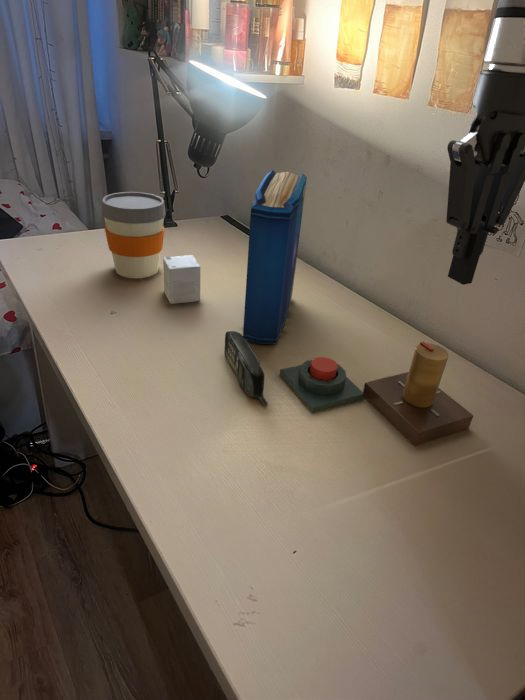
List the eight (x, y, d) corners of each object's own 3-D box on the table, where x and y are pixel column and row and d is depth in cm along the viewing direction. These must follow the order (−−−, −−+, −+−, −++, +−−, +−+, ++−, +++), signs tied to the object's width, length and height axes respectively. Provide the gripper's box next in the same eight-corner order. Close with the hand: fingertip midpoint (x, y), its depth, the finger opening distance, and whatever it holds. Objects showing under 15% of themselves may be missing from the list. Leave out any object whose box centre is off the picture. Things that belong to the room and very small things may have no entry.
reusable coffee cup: (96, 265, 109) (89, 195, 101) (147, 254, 117) (144, 188, 109) (125, 286, 102) (120, 213, 94) (178, 273, 109) (177, 204, 101)
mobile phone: (222, 329, 81) (254, 380, 69) (239, 327, 82) (275, 377, 70) (221, 355, 83) (252, 409, 71) (238, 353, 84) (272, 406, 72)
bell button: (326, 364, 78) (328, 354, 77) (340, 378, 75) (342, 368, 75) (304, 369, 77) (306, 359, 76) (318, 383, 74) (320, 373, 73)
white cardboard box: (200, 301, 99) (201, 266, 95) (169, 304, 97) (169, 268, 93) (192, 288, 103) (193, 254, 100) (163, 291, 101) (162, 256, 97)
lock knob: (439, 403, 72) (456, 354, 68) (416, 410, 70) (432, 360, 66) (418, 386, 75) (433, 338, 71) (396, 392, 74) (409, 344, 69)
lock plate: (412, 382, 81) (416, 368, 79) (468, 429, 72) (474, 414, 70) (361, 395, 77) (365, 381, 75) (414, 446, 68) (419, 431, 66)
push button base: (327, 365, 83) (330, 349, 81) (363, 400, 76) (367, 384, 74) (279, 375, 79) (281, 359, 78) (311, 413, 72) (314, 396, 70)
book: (278, 352, 85) (295, 204, 72) (237, 346, 86) (246, 198, 73) (292, 298, 103) (307, 172, 90) (258, 293, 104) (268, 167, 91)
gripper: (531, 69, 58) (474, 263, 70) (446, 64, 53) (400, 275, 65) (592, 75, 52) (518, 284, 65) (504, 70, 47) (441, 299, 59)
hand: (459, 279), depth 65 cm, fingers closed
